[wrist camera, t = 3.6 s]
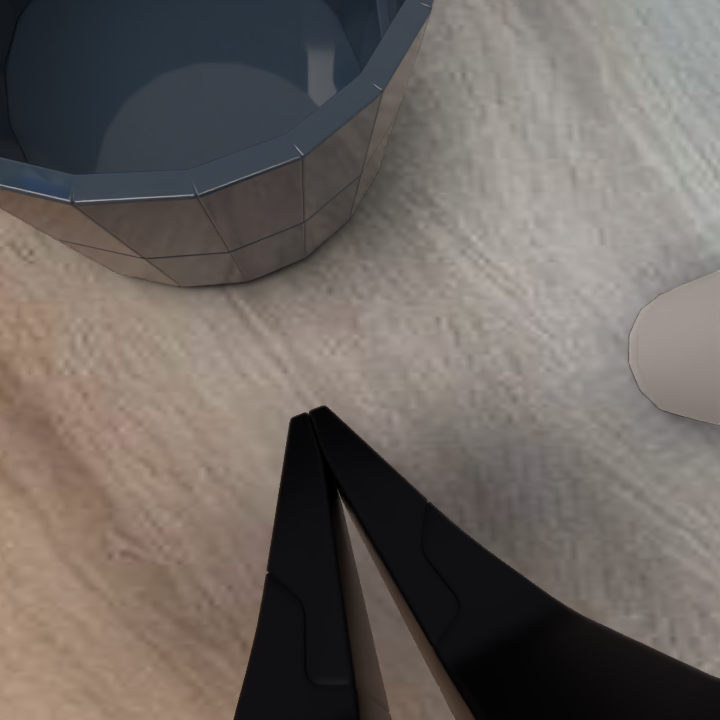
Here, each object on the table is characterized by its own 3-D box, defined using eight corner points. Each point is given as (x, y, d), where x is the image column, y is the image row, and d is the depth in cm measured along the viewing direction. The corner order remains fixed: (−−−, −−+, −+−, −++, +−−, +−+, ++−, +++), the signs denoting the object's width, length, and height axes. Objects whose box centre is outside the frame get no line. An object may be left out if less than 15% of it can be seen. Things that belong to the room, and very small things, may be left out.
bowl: (346, 325, 18) (381, 276, 10) (-57, 239, 16) (-459, 82, 8) (413, -10, 19) (495, -317, 11) (46, -128, 17) (-202, -609, 9)
